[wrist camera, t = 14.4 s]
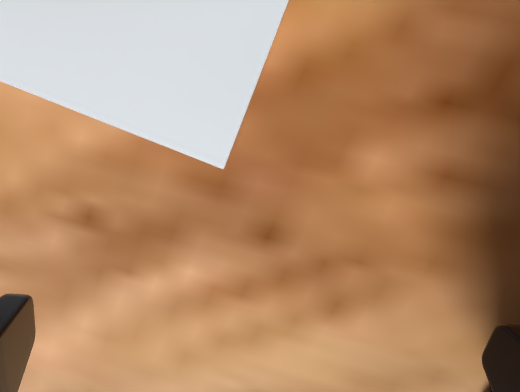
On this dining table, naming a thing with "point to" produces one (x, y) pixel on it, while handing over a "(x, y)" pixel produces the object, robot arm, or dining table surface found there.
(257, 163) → the dining table surface
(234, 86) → the ceramic tile
